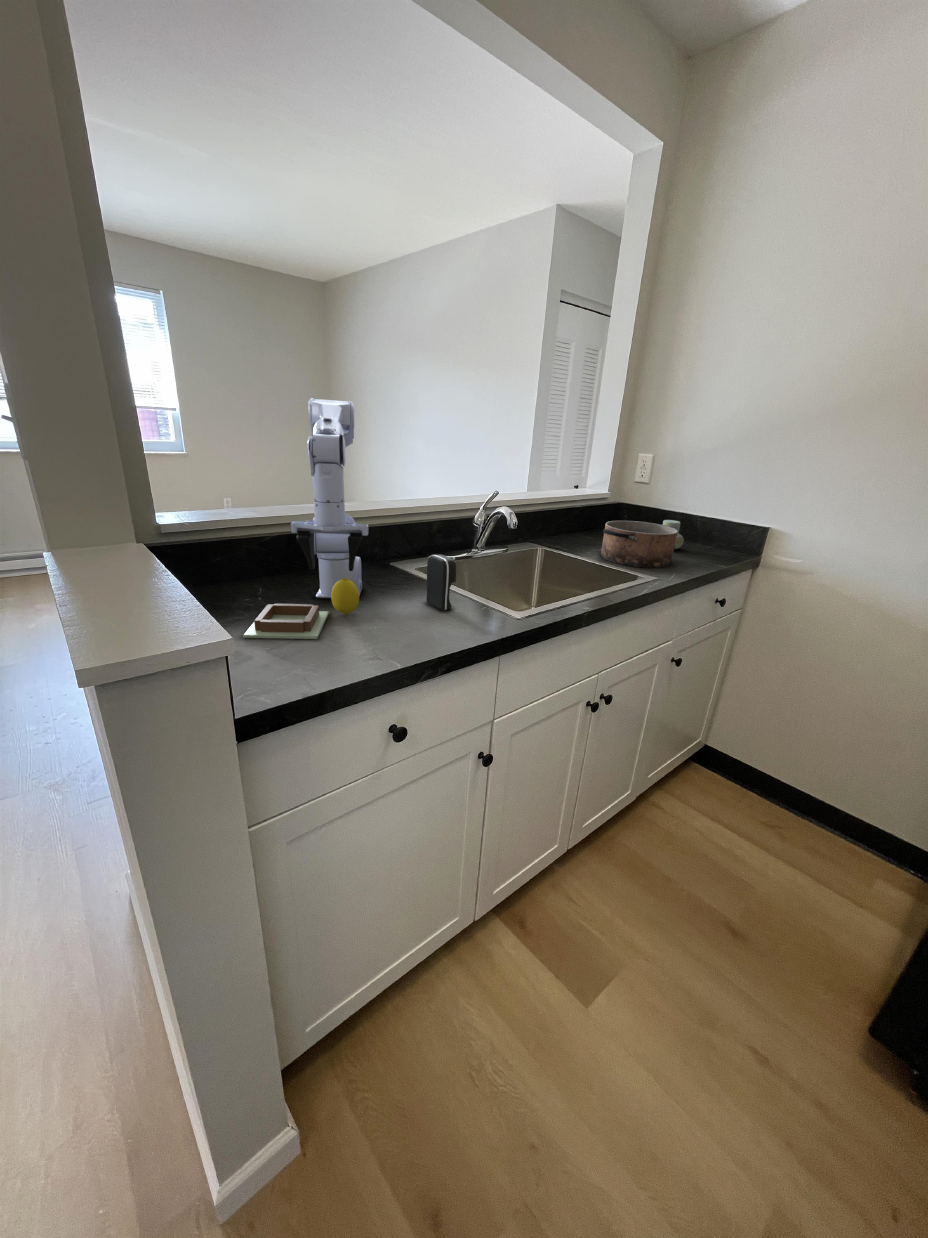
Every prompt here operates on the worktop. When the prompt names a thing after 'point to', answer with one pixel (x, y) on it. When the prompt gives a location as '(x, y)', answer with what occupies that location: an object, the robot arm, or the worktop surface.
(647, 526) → the cooking pot
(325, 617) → the cradle pad
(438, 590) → the battery charger
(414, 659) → the worktop surface
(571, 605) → the worktop surface
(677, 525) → the air freshener
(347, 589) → the lemon
